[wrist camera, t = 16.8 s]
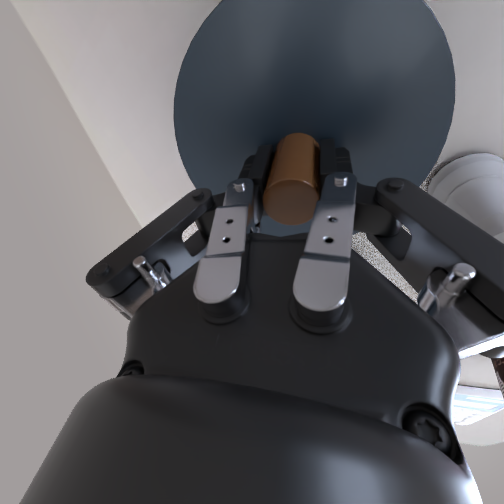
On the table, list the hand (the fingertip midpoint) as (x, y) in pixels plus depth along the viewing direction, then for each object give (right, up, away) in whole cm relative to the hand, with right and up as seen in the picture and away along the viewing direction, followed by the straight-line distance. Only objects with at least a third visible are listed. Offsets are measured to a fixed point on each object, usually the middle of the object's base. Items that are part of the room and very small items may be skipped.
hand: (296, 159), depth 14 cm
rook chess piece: (+13, 0, +4) cm, 13 cm away
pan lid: (0, +1, +1) cm, 1 cm away
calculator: (+37, -35, +36) cm, 62 cm away
